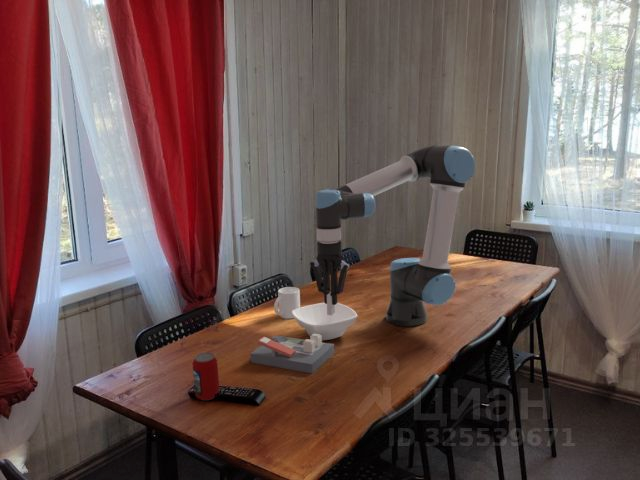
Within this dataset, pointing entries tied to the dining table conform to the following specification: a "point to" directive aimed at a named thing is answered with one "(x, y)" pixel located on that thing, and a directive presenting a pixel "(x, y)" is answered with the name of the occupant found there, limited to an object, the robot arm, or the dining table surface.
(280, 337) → the panel
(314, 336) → the slider
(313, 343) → the slider
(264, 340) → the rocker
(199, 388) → the beverage can
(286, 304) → the mug
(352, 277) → the dining table surface
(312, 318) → the bowl
